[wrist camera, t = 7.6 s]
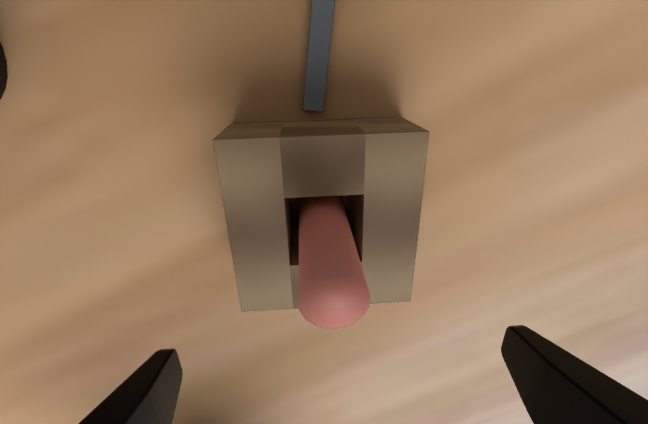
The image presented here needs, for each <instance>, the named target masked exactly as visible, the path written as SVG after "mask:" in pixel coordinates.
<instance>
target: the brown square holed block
mask: <svg viewBox="0 0 648 424" xmlns="http://www.w3.org/2000/svg"><path fill="white" fill-rule="evenodd" d="M428 139H429V131H427V130H425V129H423V128H421V127H420V126H418V125H416V124H414V123H412V122H410V121H408V120H406V119H405V118H403V117H398V118H370V119H342V120H314V121H286V122H258V123H232V124H230V125H229V126H228V127H227V128H226V129H225V130H224V131H222V132H221V133H220V134H219V135H218V136H217V137H216V138H214V139H213V145H214V151H215V157H216V163H217V169H218V175H219V181H220V187H221V193H222V199H223V205H224V210H225V216H226V222H227V228H228V234H229V240H230V246H231V252H232V258H233V264H234V270H235V276H236V282H237V288H238V294H239V300H240V306H241V312H249V311H265V310H280V309H296V308H299V305H298V281H299V228H292V225H291V212H290V198H298V197H319V196H340V195H351V225H349V226H350V229H351V232H352V236H353V239H354V242H355V246H356V249H357V252H358V256H359V259H360V262H361V266H362V269H363V272H364V276H365V279H366V282H367V286H368V289H369V293H370V303H369V304H374V303H390V302H405V301H411V294H412V285H413V276H414V267H415V258H416V249H417V240H418V230H419V221H420V212H421V203H422V194H423V185H424V176H425V167H426V158H427V148H428Z"/></svg>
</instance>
